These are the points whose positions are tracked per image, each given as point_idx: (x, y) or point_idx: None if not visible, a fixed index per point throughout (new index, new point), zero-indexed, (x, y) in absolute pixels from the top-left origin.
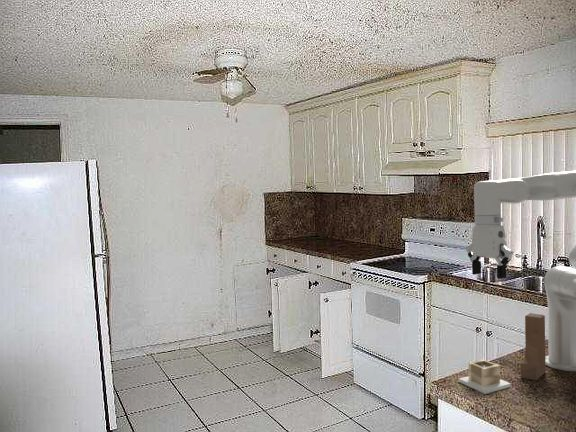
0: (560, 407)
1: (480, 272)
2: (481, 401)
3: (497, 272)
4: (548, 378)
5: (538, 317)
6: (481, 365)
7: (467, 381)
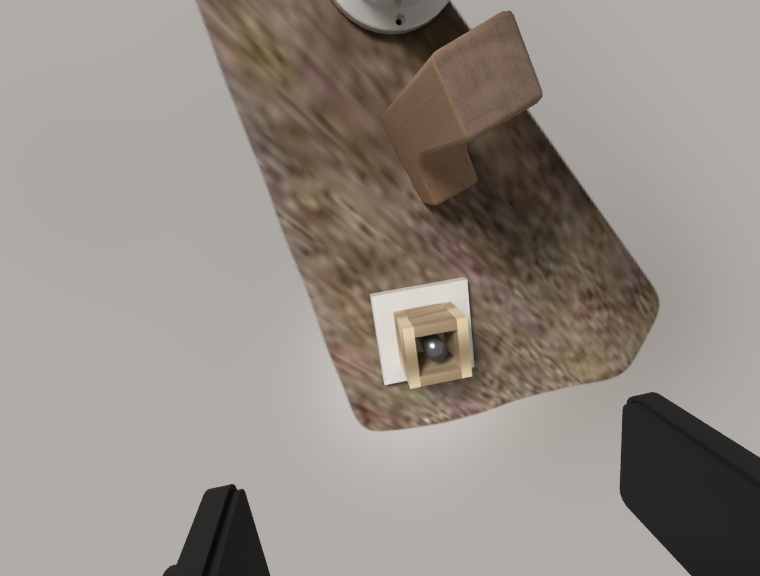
0: (600, 251)
1: (245, 507)
2: (499, 392)
3: (692, 563)
4: None
5: (534, 98)
6: (431, 356)
7: None
